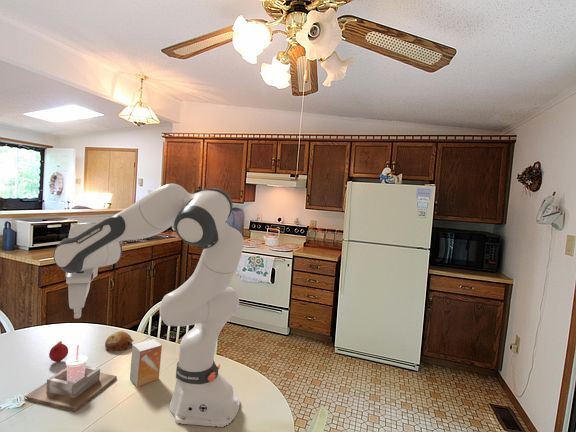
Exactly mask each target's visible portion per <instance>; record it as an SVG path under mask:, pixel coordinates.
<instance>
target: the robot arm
mask: <svg viewBox="0 0 576 432" xmlns="http://www.w3.org/2000/svg"><path fill="white" fill-rule="evenodd" d="M233 206H234V205H233V199H232V197H231V195H230V194H229V193H228V192H227V191H226V190H224V189H222V188H216V187H212V188H205V189H198V188H197V189H195V190H194V191H193V193H190V192H188V191H187V190H186V189H185V188H184V187H183V186H181V185H180V184H177V183H167V184H164V185H162V186H160V187H158V188H155V189H154V190H152V191H151V192H149V193H147V194H146V195H144V196H143V197H141V198H140V199H139V200H137V201H135V203H133V204H131V205H129V206H128V207H126V208H125V209H123V210H121V211H119V212H117V213H115V214H114V215H112V216H110V217H108V218H106V219H104V220H102V221H100V222H98V223H97V222H94V221H93V222H77V223H74V224H72V225H71V227H70V229H69V231H68V232H69V233H68V237H65V238H63V239H61V241H60V242H59V243H58V244H57V245H56V247H55V249H54V252H53V262H54V264H55V265H56V266H57V267H58V268H59V269H60V270H62V271H63V272H65V280H66V281H65V284H67V285H68V286H67V287H68V288H67V289H68V290H67V291H68V292H67V293H68V306H69V309H71V310H73V318H74V319H75V320H76V319H80V318H81V316H82V309H83V308H84V307H85V305H86V300H87V297H88V294H89V291H90V287H91V283H92V282H93V280H94V278H96V277H98V271H99V270H98V269H99V268H103V267H107V266H111V265H114V264H117V263H118V262H119V261H120V259H121V258H122V254H123V246H122V243H121V242H124V241H132V240H140V239H147V238H148V239H149V238H150V237H153V236H156V235H159V234H161V233H162V232H165V231H166V230H168V229H169V228H171V227H173V228H174V232H175V233H176V235H177V237H179V239H181V240H182V241H183V242H184V243H186V244H187V245H190V246H193V247H196V248H197V249H200V250H202V252H201V254H200V258H199V260H198V263H197V265H196V267H195V269H194V272H193V273H192V275H191V276H189V278H188V279H187V280H186V281H185V282H184V283H183V284H181V285H180V286H179V287H178V288H176V289H174V290H172V291H170V292H169V293H167V294H164V296H163V298H162V299H161V301H160V303H159V316H160V319H161V321H163V323H164V324H165V325H166V326H168V327H187V326H193V325H194V326H193V328H191V329H190V330H188V331H187V332H186V333H185V334H184V335H183V337H182V339H181V340H180V343H179V355H178V361H177V363H176V369H175V370H176V371H175V379H176V381H175V386H174V391H173V394H172V396H171V397H172V398H171V400H170V402H169V411H170V412H171V413H172V415H173V416H174V420H175V422H176V424H179V423H181V425H183V424H184V425H191V426H192V425H194V426H205V427H215V426H217V427H216V428H224V426H225V427H227V426H229V425H230V424H231V423H232V422H233V421H232V420H233V419H236V417H237V415H238V413H239V411H238V410H240V407H239V406H240V403H241V402H240V398H239V397H238V396H236V395H234V388H233V386H232V384H231V383H229V381H228V380H226V379H225V377H224V376H222V375H221V374H220V373H219V370H220V369H221V363H219V364H218V365H216V362H215V353H216V347H217V346H216V345H217V341H218V338H219V335H220V334H221V332H222V329H223V328H224V326H225V325H226V324H227V322H228V321H229V320H230V319H231V318H232V317H233V316H234V315H236V313H237V311H238V310H239V307H240V297H239V294H238V293H237V291H236V289H234V288H233V287H232V286H231V287H229V286H230V285H231V282H232V279H233V277H234V274H235V273H236V271H237V268H238V265H239V264H240V261H241V257H242V253H243V248H244V244H245V240H244V237H243V234H242V233H241V231H240V230H238V229H236V228H234V227H232V226H230V225H229V224H228V222H226V221H227V220H228V219H229V218H230V216H231V215H232V211H233ZM231 421H232V422H231ZM229 423H230V424H229ZM226 425H227V426H226Z"/></svg>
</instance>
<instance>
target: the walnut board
mask: <svg viewBox="0 0 576 432" xmlns="http://www.w3.org/2000/svg"><path fill="white" fill-rule="evenodd" d="M116 380H117V375H114V374H108V373H104V372H101V369H100V368H98V367H94V366H89V365H86V368H85V375H84V378H82V379H81V380H79V381H78V382H76V383H73V382H68V381H67V367H65V368H64V369H62V370H60V371H59V372H57V373H55V374H54V375H52V376H50V377H49V378H47V379H46V382H45V383H43V384H42V385H40V386H39V387H37V388H35V389H34V390H33V391H31V392H29V393H28V394H26V395H24V398H25V397H26V398H27V399H28V400H27V401H29V402H30V401H31V402H35V403H38V404H42V405H43V404H44V405H47V406H50V407H55V408H59V409H64V410H67V411H71V412H77V411H78V410H79V409H80V408H82V407H83V406H84V405H85V404H87V403H88V402H89V401H91V400H92V399H93V398H95V397H96V396H97V395H98V394H99V393H101V392H102V391H103V390H105V389H106V388H107V387H108V386H109V385H111V384H112V383H113V382H114V381H116Z"/></svg>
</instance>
